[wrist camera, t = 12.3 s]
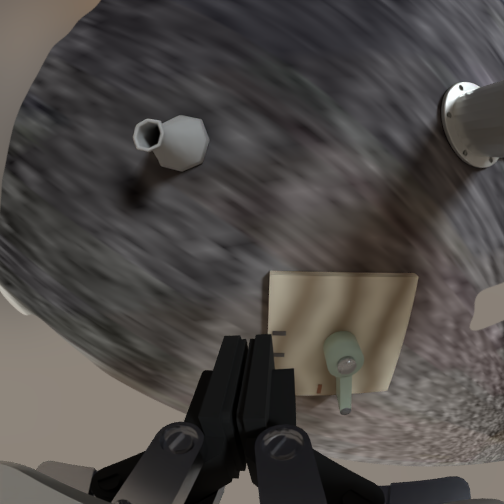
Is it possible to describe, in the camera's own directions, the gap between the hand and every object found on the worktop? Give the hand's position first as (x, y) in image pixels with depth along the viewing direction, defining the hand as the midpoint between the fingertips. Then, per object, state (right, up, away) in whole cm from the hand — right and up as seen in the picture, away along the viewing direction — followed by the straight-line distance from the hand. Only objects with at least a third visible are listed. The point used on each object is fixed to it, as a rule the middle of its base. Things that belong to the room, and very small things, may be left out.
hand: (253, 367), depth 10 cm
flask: (-9, +18, +23) cm, 30 cm away
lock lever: (+13, -12, +28) cm, 33 cm away
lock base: (+12, -8, +29) cm, 32 cm away
